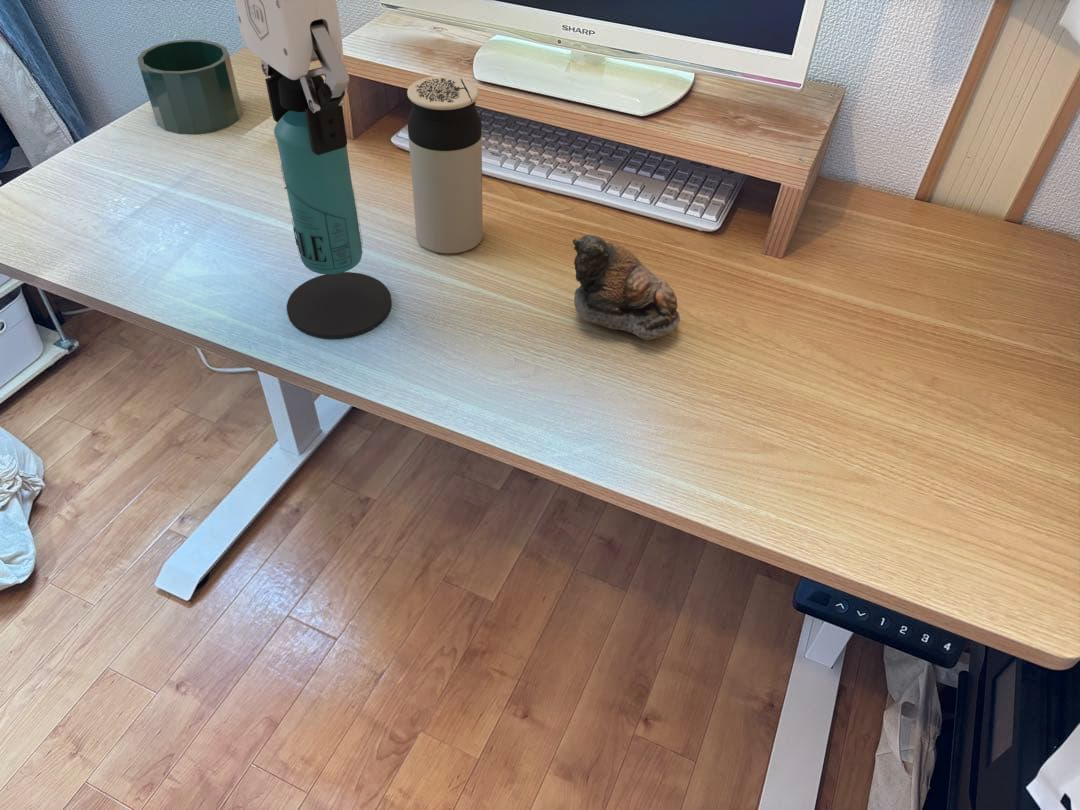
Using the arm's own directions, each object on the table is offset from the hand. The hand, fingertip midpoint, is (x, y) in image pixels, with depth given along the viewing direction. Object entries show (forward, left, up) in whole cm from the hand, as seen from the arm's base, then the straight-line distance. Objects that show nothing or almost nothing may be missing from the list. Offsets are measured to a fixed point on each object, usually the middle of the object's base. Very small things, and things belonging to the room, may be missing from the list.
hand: (309, 132), depth 71 cm
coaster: (0, 0, -20) cm, 20 cm away
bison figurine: (+9, -29, -20) cm, 36 cm away
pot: (+28, +39, -20) cm, 52 cm away
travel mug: (+17, -5, -20) cm, 27 cm away
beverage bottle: (0, 0, -15) cm, 15 cm away
